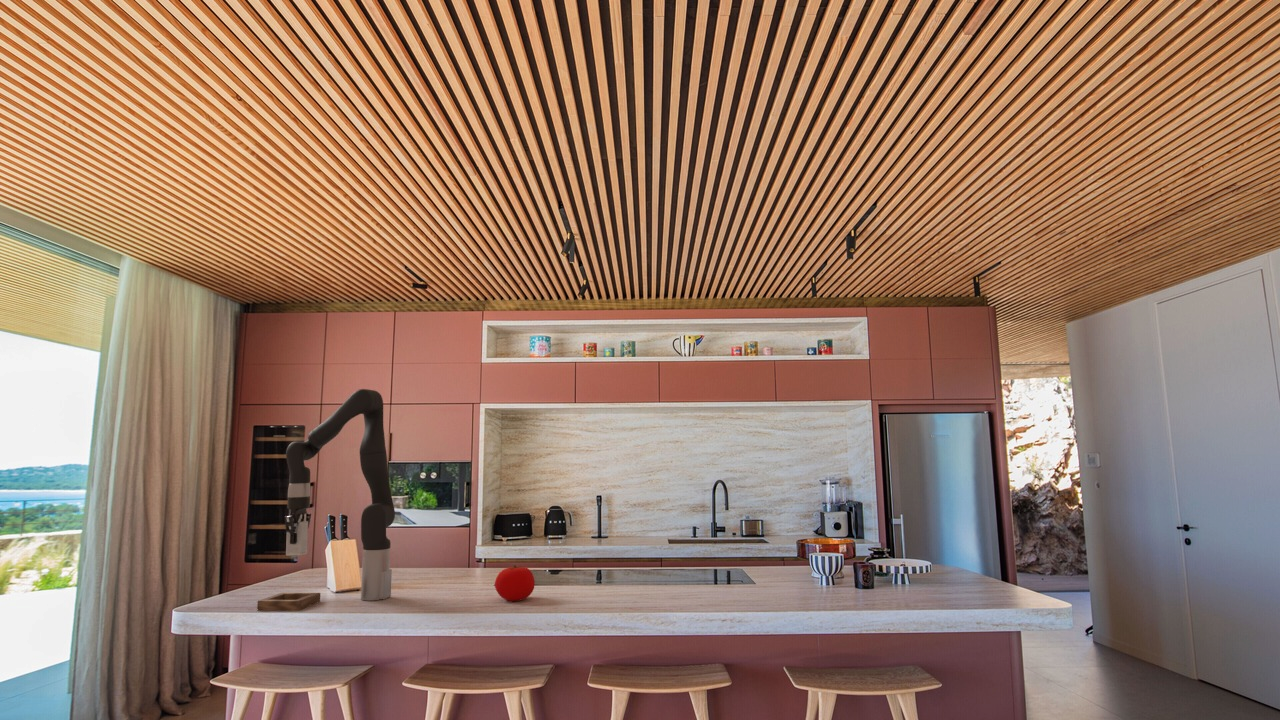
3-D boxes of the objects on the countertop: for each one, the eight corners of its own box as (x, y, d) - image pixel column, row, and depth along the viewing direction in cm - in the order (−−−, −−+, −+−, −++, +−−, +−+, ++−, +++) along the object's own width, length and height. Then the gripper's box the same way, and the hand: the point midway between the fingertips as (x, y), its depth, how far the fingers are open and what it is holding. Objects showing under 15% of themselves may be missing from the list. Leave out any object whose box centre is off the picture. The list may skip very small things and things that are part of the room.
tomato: (529, 603, 238) (529, 568, 240) (490, 603, 240) (490, 568, 241) (539, 596, 251) (539, 562, 252) (501, 595, 253) (502, 562, 254)
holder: (320, 601, 245) (320, 592, 246) (297, 610, 231) (298, 601, 232) (281, 601, 246) (282, 592, 247) (257, 610, 232) (257, 600, 233)
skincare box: (307, 553, 259) (308, 520, 261) (300, 555, 255) (302, 522, 257) (292, 554, 260) (293, 521, 261) (285, 555, 256) (286, 522, 257)
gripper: (297, 496, 253) (295, 545, 251) (319, 494, 267) (317, 540, 265) (277, 497, 254) (275, 545, 251) (300, 494, 268) (298, 540, 265)
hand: (297, 542), depth 258 cm, fingers closed on skincare box, 4 cm apart
